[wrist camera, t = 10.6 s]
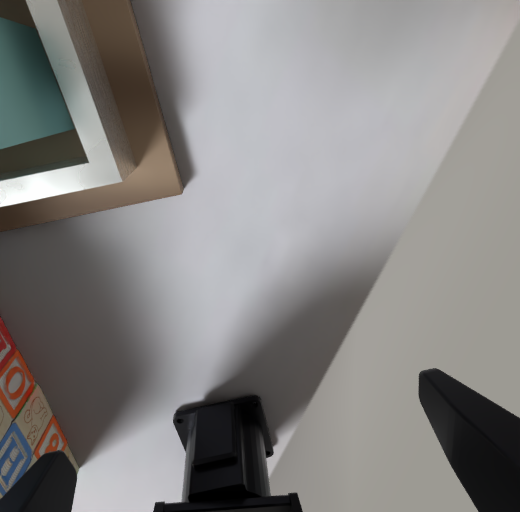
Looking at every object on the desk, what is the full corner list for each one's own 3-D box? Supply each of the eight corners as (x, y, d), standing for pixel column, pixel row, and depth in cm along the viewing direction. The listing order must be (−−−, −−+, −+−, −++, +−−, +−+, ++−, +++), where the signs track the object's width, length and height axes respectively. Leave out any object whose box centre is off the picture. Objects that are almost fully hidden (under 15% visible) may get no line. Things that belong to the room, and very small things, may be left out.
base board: (183, 189, 19) (182, 194, 18) (-36, 234, 19) (-49, 242, 18) (100, -105, 14) (91, -119, 13) (-204, -46, 14) (-234, -55, 13)
